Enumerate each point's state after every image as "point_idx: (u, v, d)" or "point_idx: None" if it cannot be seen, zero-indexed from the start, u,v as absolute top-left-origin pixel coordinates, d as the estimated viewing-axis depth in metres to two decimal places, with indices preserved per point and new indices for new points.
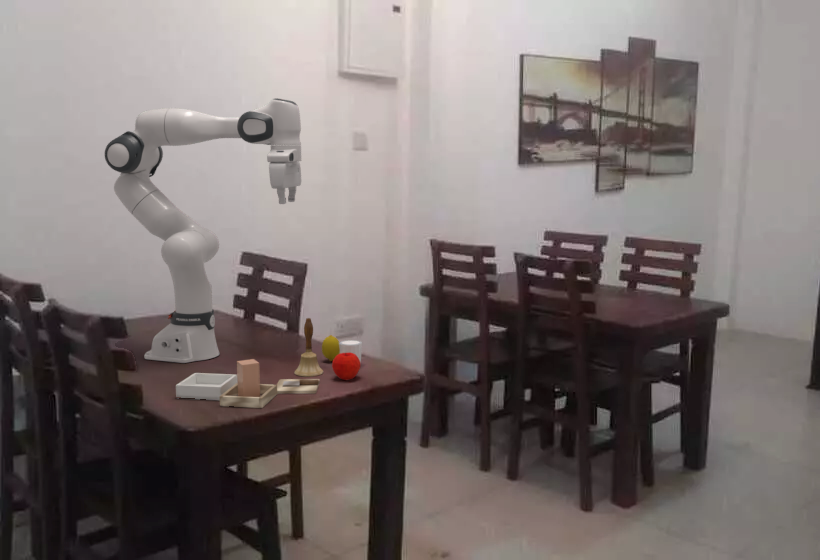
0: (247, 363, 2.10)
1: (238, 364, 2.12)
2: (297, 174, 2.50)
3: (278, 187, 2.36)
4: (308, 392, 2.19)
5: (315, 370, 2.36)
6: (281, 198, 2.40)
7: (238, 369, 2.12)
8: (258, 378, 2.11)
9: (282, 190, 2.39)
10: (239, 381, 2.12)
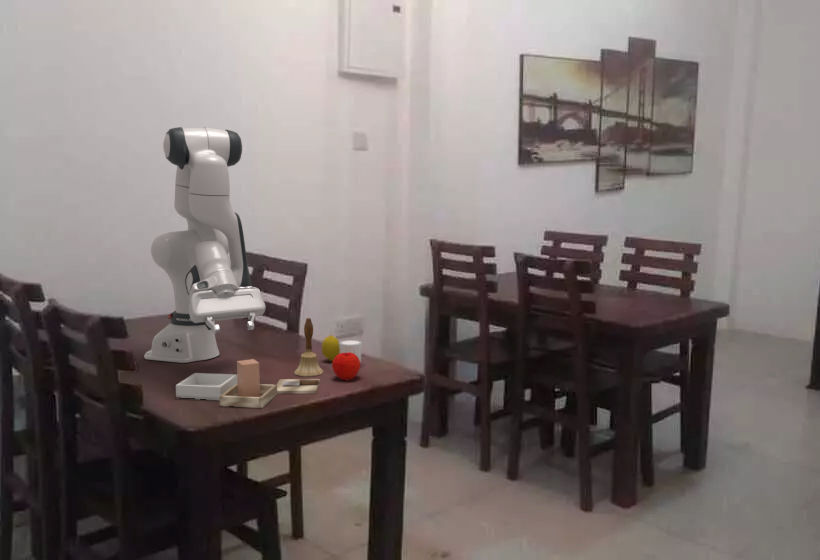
0: (247, 363, 2.10)
1: (238, 364, 2.12)
2: (247, 300, 2.27)
3: (194, 318, 2.19)
4: (308, 392, 2.19)
5: (315, 370, 2.36)
6: (212, 327, 2.20)
7: (238, 369, 2.12)
8: (258, 378, 2.11)
9: (206, 319, 2.20)
10: (239, 381, 2.12)
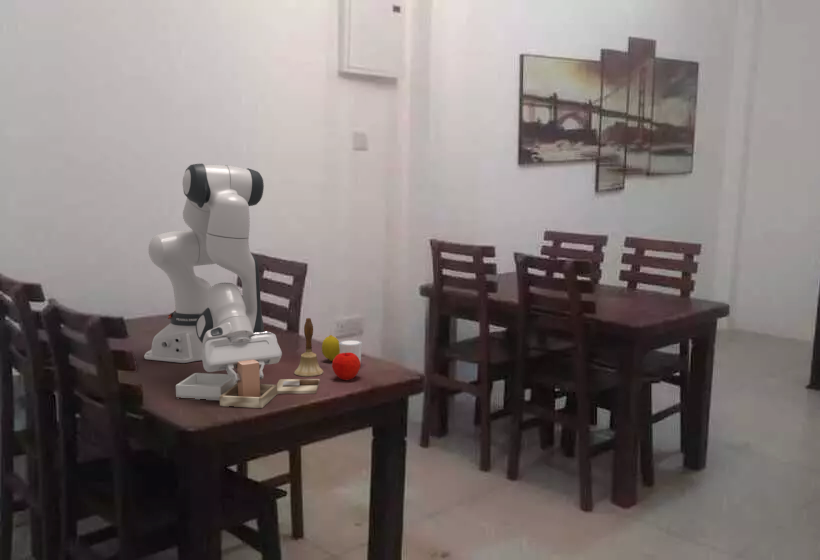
0: (247, 363, 2.10)
1: (238, 364, 2.12)
2: (263, 346, 2.17)
3: (207, 367, 2.09)
4: (308, 392, 2.19)
5: (315, 370, 2.36)
6: (233, 376, 2.11)
7: (238, 369, 2.12)
8: (258, 378, 2.11)
9: (227, 367, 2.11)
10: None
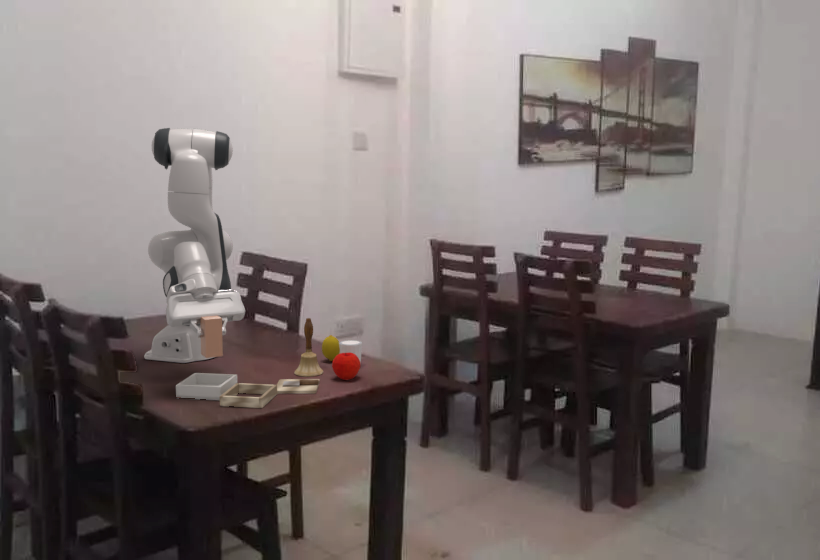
0: (210, 318, 2.14)
1: (201, 319, 2.15)
2: (226, 303, 2.21)
3: (170, 321, 2.13)
4: (308, 392, 2.19)
5: (315, 370, 2.36)
6: (196, 331, 2.15)
7: (201, 324, 2.15)
8: (221, 333, 2.15)
9: (190, 322, 2.15)
10: None
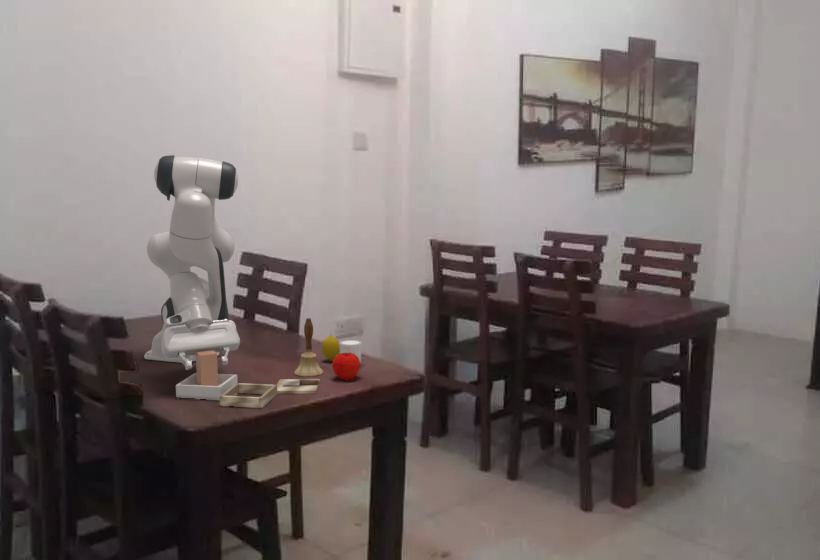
0: (205, 354, 2.17)
1: (197, 355, 2.18)
2: (221, 334, 2.23)
3: (166, 353, 2.16)
4: (308, 392, 2.19)
5: (315, 370, 2.36)
6: (184, 363, 2.16)
7: (197, 359, 2.18)
8: (216, 368, 2.18)
9: (179, 355, 2.16)
10: (198, 371, 2.18)
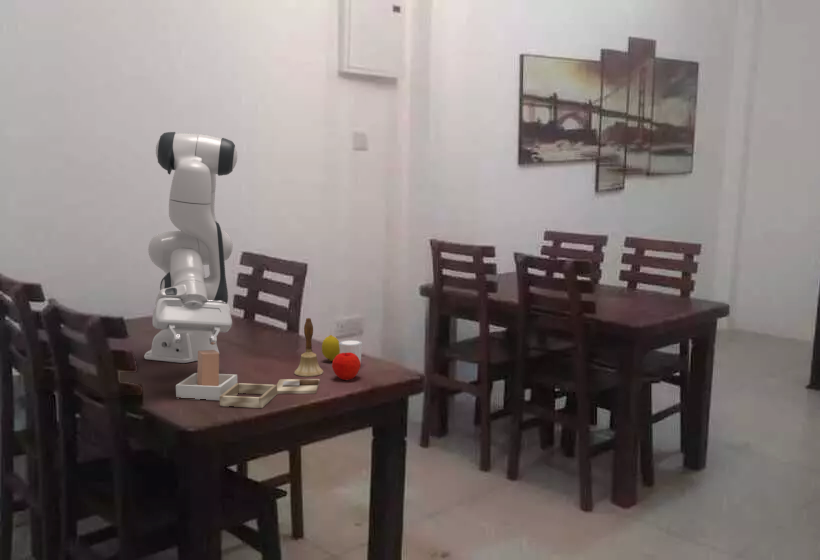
0: (207, 353, 2.17)
1: (199, 353, 2.18)
2: (214, 313, 2.21)
3: (156, 323, 2.12)
4: (308, 392, 2.19)
5: (315, 370, 2.36)
6: (173, 336, 2.13)
7: (198, 358, 2.18)
8: (217, 368, 2.18)
9: (168, 327, 2.13)
10: (199, 370, 2.18)
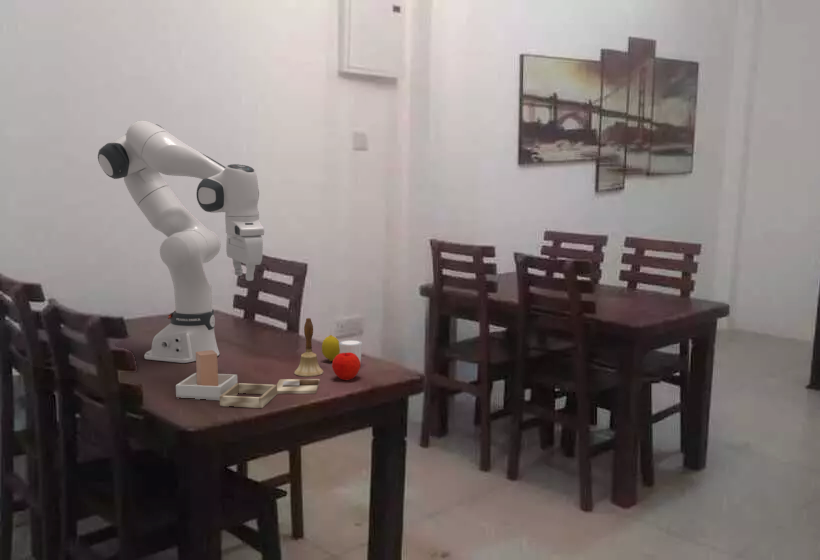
0: (205, 354, 2.17)
1: (197, 355, 2.18)
2: None
3: (256, 263, 2.15)
4: (308, 392, 2.19)
5: (315, 370, 2.36)
6: (250, 274, 2.19)
7: (197, 359, 2.18)
8: (216, 368, 2.18)
9: (253, 266, 2.18)
10: (198, 371, 2.18)
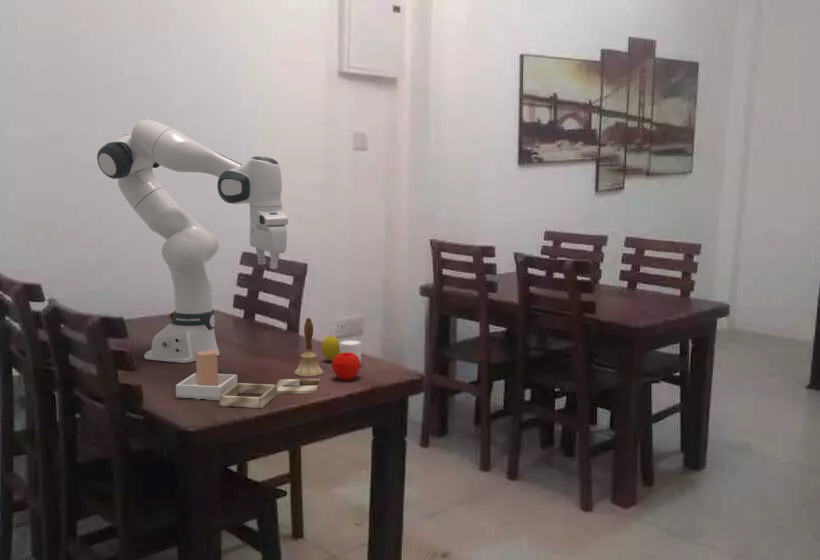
0: (205, 354, 2.17)
1: (197, 355, 2.18)
2: None
3: (281, 252, 2.23)
4: (308, 392, 2.19)
5: (315, 370, 2.36)
6: (274, 262, 2.27)
7: (197, 359, 2.18)
8: (216, 368, 2.18)
9: (277, 254, 2.26)
10: (198, 371, 2.18)
